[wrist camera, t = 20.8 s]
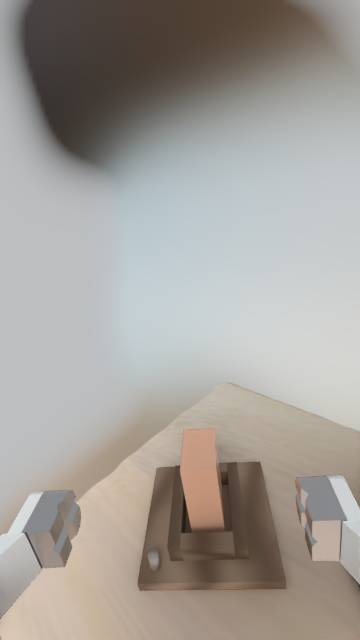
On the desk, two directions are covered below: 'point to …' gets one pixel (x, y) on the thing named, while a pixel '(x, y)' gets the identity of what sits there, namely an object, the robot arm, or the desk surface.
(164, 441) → the desk surface
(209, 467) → the keyed block
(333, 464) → the desk surface
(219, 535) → the keyed holder
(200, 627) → the desk surface
